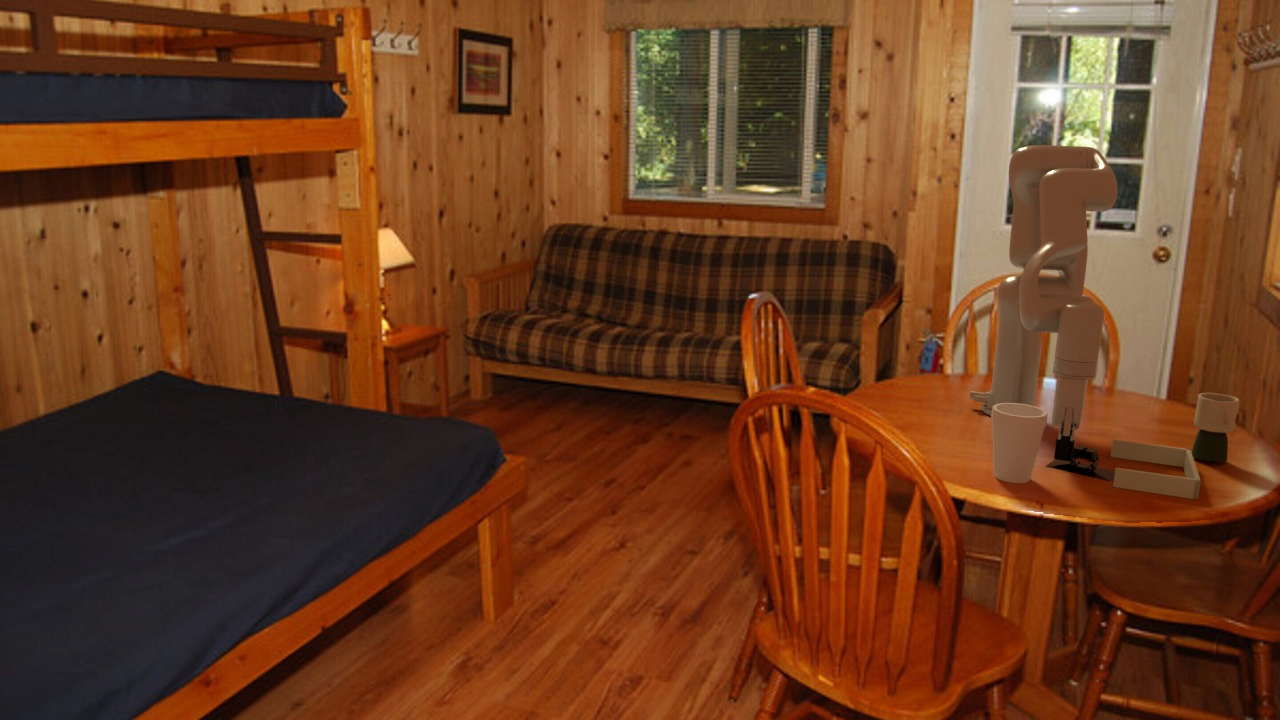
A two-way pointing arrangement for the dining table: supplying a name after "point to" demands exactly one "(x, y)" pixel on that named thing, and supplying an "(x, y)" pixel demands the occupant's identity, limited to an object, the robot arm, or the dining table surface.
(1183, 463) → the corral
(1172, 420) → the dining table surface
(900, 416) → the dining table surface
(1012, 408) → the foam cup
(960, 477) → the dining table surface
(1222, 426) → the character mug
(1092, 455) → the black piece
